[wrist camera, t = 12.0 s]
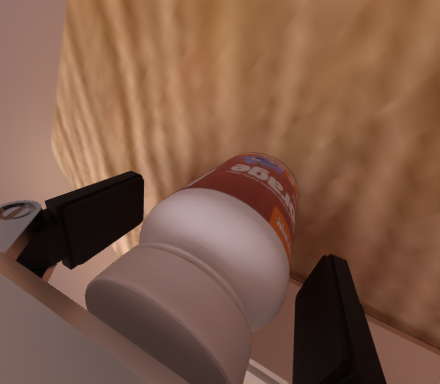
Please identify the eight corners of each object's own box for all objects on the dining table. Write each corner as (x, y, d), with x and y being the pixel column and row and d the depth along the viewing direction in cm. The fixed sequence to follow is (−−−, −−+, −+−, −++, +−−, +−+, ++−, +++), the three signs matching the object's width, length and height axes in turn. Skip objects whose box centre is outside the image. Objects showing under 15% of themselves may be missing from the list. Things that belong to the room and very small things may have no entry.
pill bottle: (318, 200, 12) (360, 481, 3) (252, 239, 16) (172, 430, 6) (256, 131, 12) (98, 195, 3) (203, 185, 16) (48, 295, 6)
